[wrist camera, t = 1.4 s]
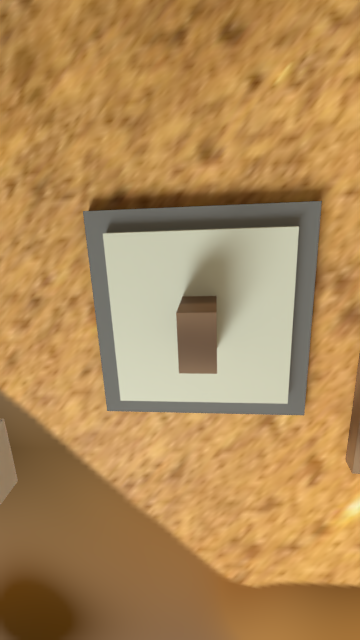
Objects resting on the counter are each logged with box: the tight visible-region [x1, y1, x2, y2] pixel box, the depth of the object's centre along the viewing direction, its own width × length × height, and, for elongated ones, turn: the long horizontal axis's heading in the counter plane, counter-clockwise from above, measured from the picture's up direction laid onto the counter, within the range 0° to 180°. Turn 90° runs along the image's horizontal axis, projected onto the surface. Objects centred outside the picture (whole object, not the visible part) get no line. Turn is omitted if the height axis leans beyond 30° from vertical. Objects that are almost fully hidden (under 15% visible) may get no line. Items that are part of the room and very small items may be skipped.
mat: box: [83, 201, 322, 415], centre depth 26 cm, size 16×16×1 cm
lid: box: [103, 226, 299, 404], centre depth 23 cm, size 13×13×5 cm
